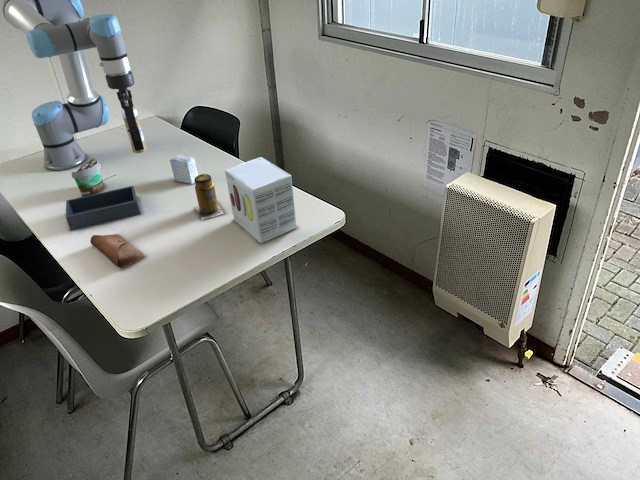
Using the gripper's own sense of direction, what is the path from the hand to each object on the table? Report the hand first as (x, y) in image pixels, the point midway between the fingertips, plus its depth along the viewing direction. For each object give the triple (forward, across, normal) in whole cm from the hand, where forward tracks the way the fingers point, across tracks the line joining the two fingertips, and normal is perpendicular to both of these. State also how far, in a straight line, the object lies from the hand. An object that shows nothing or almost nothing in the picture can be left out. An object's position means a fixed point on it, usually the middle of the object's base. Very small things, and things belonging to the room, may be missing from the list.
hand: (138, 146), depth 162 cm
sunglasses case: (+21, +26, -13) cm, 36 cm away
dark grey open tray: (+20, 0, -16) cm, 26 cm away
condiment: (+21, +15, +16) cm, 30 cm away
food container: (+21, -19, -18) cm, 33 cm away
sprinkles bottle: (+2, 0, 0) cm, 2 cm away
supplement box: (+21, +31, +30) cm, 48 cm away
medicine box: (+21, -11, +13) cm, 27 cm away
